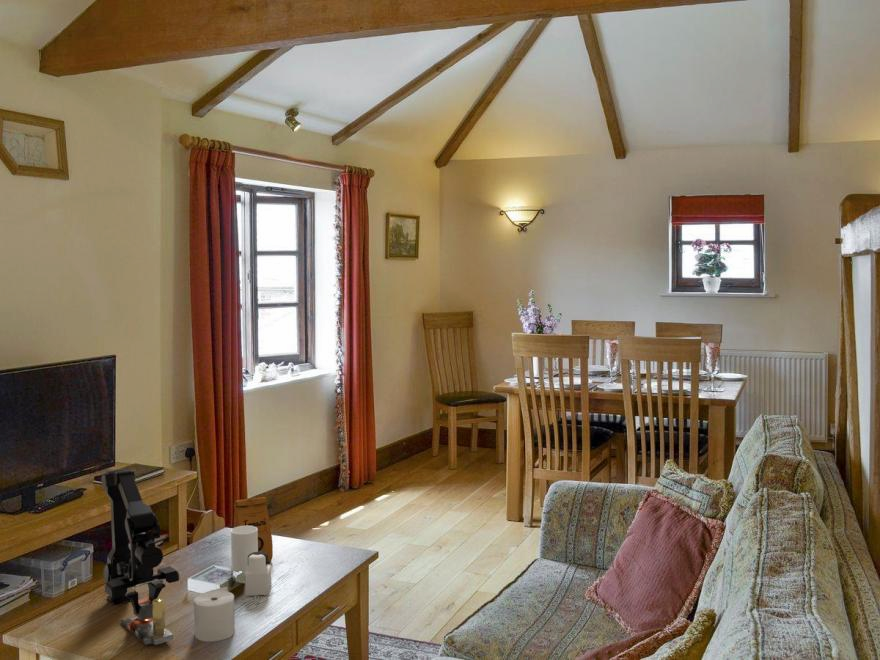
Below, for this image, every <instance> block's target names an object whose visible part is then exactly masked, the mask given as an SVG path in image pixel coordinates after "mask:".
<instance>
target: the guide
mask: <svg viewBox="0 0 880 660" xmlns="http://www.w3.org/2000/svg"><path fill="white" fill-rule="evenodd" d="M127 623H130V618H128V619H127V618H126V619H121V620H120V624H121V625H122V626H123V627H124V628H125V629H126V630H128V631H129V632H130V633H131V634H133V636H135V638H137V639H138V640H139V641H140V640H141V641H140V642H142V643H143V645H145V646H150V645H154V644H153V643H151V644H148V645H146V644H145V643H144V640H143V637H145V636H142V637H139V638H138V637H137V636H136V635H135V630H137V629H135V630H131V631H130V630H129V629H128V625H127Z"/></svg>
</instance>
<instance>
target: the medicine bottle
mask: <svg viewBox="0 0 880 660" xmlns="http://www.w3.org/2000/svg"><path fill="white" fill-rule="evenodd" d="M271 588H272V565H271V564H269V562H268V555H267V553H265V552H260V551H258V552H253V553H251V554H249V555H248V567H247V570H246V572H245V583H244V595H245V597H255V596H256V597H259V596H258V595H264V596H269V595H270V593H271Z"/></svg>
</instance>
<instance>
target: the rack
mask: <svg viewBox="0 0 880 660" xmlns="http://www.w3.org/2000/svg"><path fill="white" fill-rule="evenodd" d="M152 608H153V618H149V619H146V620H142V621H141V620H140V619H139V618H138V617H137V616H134V617H131V618H129V619H130V623H127V625H128V629H129V630H130V631H131V630H135V629H137V630H135V635H136V636H137V637H138V638H139V637H142V636H145V637H143V640H144V643H145V644H146V645H147V646H149V645H148V644H150V645H154V646H157V645H160V644H163V643H166V642H169V641H172V640H174V633H172V632H171V631H170V630H169V629H167V628H166V621H165V620H166V618H165V617H166V616H165V615H166V611H165V599H164V598H160V597H159V598H158V597H157V599H154V600H153V601H152ZM128 629H127V630H128ZM129 630H128V631H129ZM130 631H129V632H130ZM135 635H134V636H135ZM136 636H135V637H136ZM137 637H136V638H137ZM138 638H137V639H138ZM144 643H143V644H144ZM151 643H153V644H151ZM145 644H144V645H145ZM146 645H145V646H146Z"/></svg>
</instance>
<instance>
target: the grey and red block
mask: <svg viewBox="0 0 880 660" xmlns="http://www.w3.org/2000/svg"><path fill="white" fill-rule="evenodd" d="M138 605H139V610H138V614H136V613H135V611H134V609H133V610H132V611H133V614H134V615H135V617H138V618H139V619H140V620H141V621H142V620H146V619H149V618H153V608H152V601H151V600H150V599H149V597H148V596H146V595H144V596H141V597H138Z"/></svg>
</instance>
